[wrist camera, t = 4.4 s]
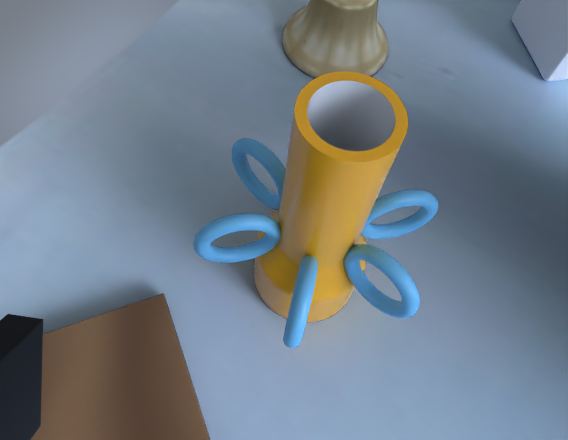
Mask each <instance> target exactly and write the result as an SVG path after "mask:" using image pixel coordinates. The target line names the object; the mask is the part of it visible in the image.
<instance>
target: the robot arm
mask: <svg viewBox="0 0 568 440" xmlns="http://www.w3.org/2000/svg"><path fill="white" fill-rule="evenodd" d="M42 346H43V319H37V318H31V317H24V316H18V315H11V314H7V315H6V316H5V317H4V318H3V319H1V320H0V440H31V438H32V437H33V436H34V434H35V433H36V432H37V430H38V429H39V427H40V426H41V391H42Z"/></svg>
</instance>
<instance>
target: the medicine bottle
mask: <svg viewBox="0 0 568 440" xmlns="http://www.w3.org/2000/svg"><path fill="white" fill-rule="evenodd" d="M511 20H512V22H513V24H514V26H515V27H516V29H517V31H518V33H519V35H520V37H521V38H522V40H523V42H524V44H525V46H526V47H527V49H528V51H529V53H530V55H531V57H532V58H533V60H534V62H535V64H536V66H537V68H538V69H539V71H540V73H541V75H542V77H543V79H544V80H545V81H555V80H564V79H568V0H521V1H520V3H519V5H518V6H517V8H516V10H515V12H514V13H513V15H512V17H511Z"/></svg>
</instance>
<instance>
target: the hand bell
mask: <svg viewBox="0 0 568 440" xmlns="http://www.w3.org/2000/svg"><path fill="white" fill-rule="evenodd" d="M377 8H378V0H310V1H309V3H308V5H307V6H305V7H303V8H301V9H300V10H298V11H297V12H296V13H295V14H293V16H292V17H291V18H290V19H289V20H288V22H287V23H286V25H285V27H284V30H283V34H282V42H283V47H284V50H285V52H286V54H287V56H288V57H289V59H290V60H291V61H292V62H293V63H294V65H296V66H297V67H298V68H299V69H300V70H302V71H303V72H305V73H307V74H308V75H310V76H312V77H315V78H317V77H319V76H322V75H324V74H328V73H332V72H342V71H347V72H357V73H361V74H365V75H368V76H372V75H373V74H375V73H376V72H378V71H379V70H380V69H381V67H382V66H383V64H384V63H385V61H386V58H387V55H388V42H387V38H386V35H385V32H384V30H383V28H382V27H381V25H380V24H379V23H378V21H377Z"/></svg>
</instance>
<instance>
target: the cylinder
mask: <svg viewBox="0 0 568 440" xmlns="http://www.w3.org/2000/svg"><path fill="white" fill-rule="evenodd" d="M407 130H408V115H407V111H406V108H405V106H404V104H403V102H402V101H401V99H400V98H399V96H398V95H397V94H396V93H395V92H394V91H393V90H392V89H391V88H390V87H389V86H387V85H386V84H384V83H383V82H381V81H380V80H378V79H376V78H373V77H371V76H368V75H365V74H361V73H357V72H347V71H342V72H332V73H328V74H324V75H322V76H319V77H317V78H315V79H313V80H312V81H310V82H309V83H308V84H307V85H306V86H305V87H304V88H303V89H302V90H301V92H300V93H299V95H298V97H297V100H296V103H295V109H294V116H293V123H292V129H291V136H290V143H289V150H288V157H287V164H286V169H285V167H284V166H283V164H282V163H281V162H280V160H279V159H278V158H277V157H276V156H275V155H274V153H273V152H272V151H270V150H269V149H268V148H267V147H266V146H264V145H263V144H262V143H260V142H258V141H256V140H253V139H250V138H243V139H240V140H238V141H237V142H236V143H235V144H234V145H233V148H232V161H233V164H234V167H235V170H236V172H237V174H238V176H239V177H240V179H241V180H242V182H243V183H244V185H245V186H246V187H247V189H248V190H249V191H250V192H251V193H252V194H253V195H254V196H255V197H256V198H257V199H258V200H259V201H260V202H262V203H263V204H265V205H266V206H268V207H270V208H272V209H275V210H274V211H273V212H272V213H271V214H270V215H269V216H266V215H263V214H256V213H242V214H234V215H229V216H225V217H222V218H219V219H217V220H214V221H212V222H210V223H209V224H207V225H205V226H204V227H203V228H202V229H200V230H199V232H198V233H197V234H196V236H195V238H194V249H195V251H196V252H197V254H198V255H199V256H201V257H202V258H204V259H206V260H209V261H213V262H220V263H232V262H240V261H245V260H249V259H253V258H255V268H254V276H255V283H256V287H257V290H258V292H259V294H260V296H261V298H262V299H263V301H264V302H265V303H266V305H267V306H268V307H269V308H270V309H272V310H273V311H274V312H275V313H277V314H278V315H280V316H282V317H284V318H286V319H287V322H286V327H285V332H284V337H283V341H284V344H285V345H286V346H287V347H289V348H295V347H297V346H298V345H299V344H300V342H301V339H302V336H303V333H304V329H305V326H306V323H309V322H317V321H321V320H324V319H327V318H329V317H331V316H333V315H335V314H336V313H337V312H339V311H340V310H341V309H342V308H343V307H344V305H345V304H346V303H347V301H348V300H349V298H350V296H351V294H352V293H353V291H354V289H355V288H356V289H357V290H358V291H359V293H360V294H361V295H362V296H363V297H364V298H365V299H366V300H367V301H368V302H370V303H371V304H372V305H373V306H375V307H376V308H377V309H379V310H381V311H382V312H384V313H386V314H388V315H390V316H393V317H397V318H408V317H411V316H412V315H414V314H415V313H416V312H417V310H418V308H419V305H420V297H419V293H418V290H417V287H416V285H415V283H414V281H413V280H412V278H411V277H410V275H409V274H408V273H407V271H406V270H405V269H404V268H403V267H402V266H401V265H400V264H399V263H398V262H397V261H396V260H395V259H394V258H392V257H391V256H390V255H389V254H387V253H386V252H384V251H382V250H380V249H379V248H376V247H374V246H371V245H368V244H367V243H366V239H365V237H366V238H369V239H388V238H393V237H397V236H401V235H404V234H407V233H410V232H412V231H414V230H416V229H418V228H420V227H422V226H423V225H425V224H426V223H428V222H429V221H430V220H431V219H432V218H433V217H434V216H435V214H436V212H437V210H438V201H437V199H436V197H435V196H434V195H432V194H431V193H429V192H427V191H423V190H404V191H399V192H394V193H391V194H388V195H385V196H383V197H380V198H378V199H377V197H378V195H379V192H380V190H381V188H382V186H383V184H384V182H385V179H386V177H387V175H388V173H389V171H390V169H391V166H392V164H393V162H394V160H395V158H396V156H397V153H398V151H399V149H400V147H401V145H402V143H403V140H404V138H405V136H406V133H407ZM246 154H249V155H251V156H252V157H254V158H255V159H257V160H258V161H259V162H260V163H261V164H262V165H263V166H264V167H265V168H266V170H267V171H268V172H269V174H270V175H271V177H272V178H273V180H274V182H275V184H276V186H277V189H278V193H279V195H276V194H274V193H272V192H271V191H269V190H268V189H267V188H266V187H265V186H264V185H263V184H262V183H261V182H260V181H259V180H258V179H257V177H256V176H255V174H254V173H253V171H252V170H251V168H250V166H249V163H248V161H247V156H246ZM407 206H421V209H420V210H419V211H417V212H416V213H415V214H413V215H411V216H409V217H407V218H405V219H403V220H400V221H397V222H394V223H389V224H383V225H374V224H370V223H371V222H372V221H373V220H374V219H376V218H377V217H379V216H380V215H382V214H384V213H386V212H389V211H391V210H394V209H397V208H401V207H407ZM243 230H257V231H259V234H258V237H257V241H255V242H253V243H250V244H247V245H243V246H238V247H217V246H214V245H211V244H210V243H211V242H212V241H213V240H215V239H216V238H218V237H220V236H223V235H225V234H228V233H232V232H237V231H243ZM366 262H368V263H370V264H372V265H374V266H375V267H377V268H378V269H380V270H381V271H382V272H383V273H384V274H385V275H387V276H388V278H389V279H390V280H391V281H392V282H393V283H394V285H395V286H396V287H397V289H398V291H399V292H400V294H401V297H402V302H400V301H396V300H393V299H391V298H389V297H388V296H386V295H385V294H383V293H382V292H381V291H379V290H378V289H377V288H376V287H375V286H374V285H373V284H372V283H371V282H370V281H369V279H368V278H367V277H366V275H365V274H364V269H365V266H366Z"/></svg>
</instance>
